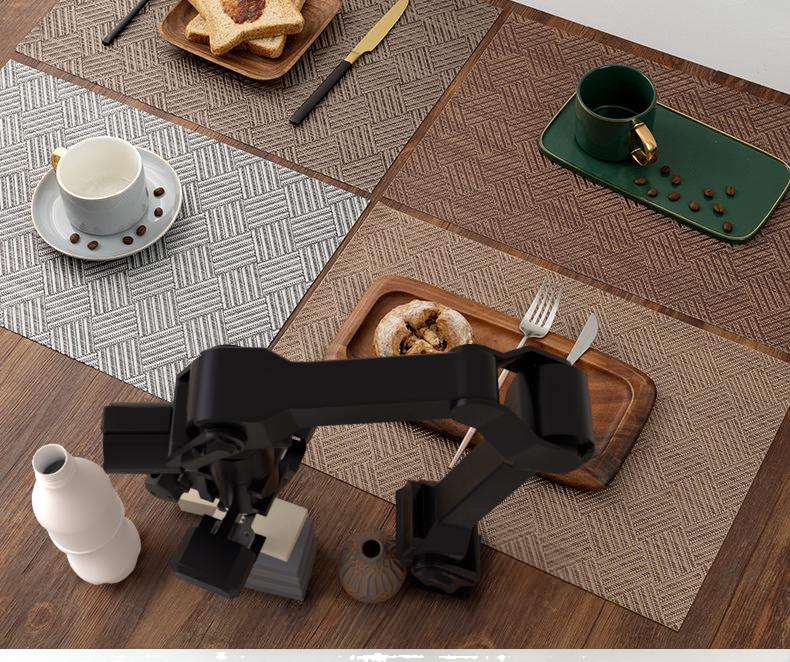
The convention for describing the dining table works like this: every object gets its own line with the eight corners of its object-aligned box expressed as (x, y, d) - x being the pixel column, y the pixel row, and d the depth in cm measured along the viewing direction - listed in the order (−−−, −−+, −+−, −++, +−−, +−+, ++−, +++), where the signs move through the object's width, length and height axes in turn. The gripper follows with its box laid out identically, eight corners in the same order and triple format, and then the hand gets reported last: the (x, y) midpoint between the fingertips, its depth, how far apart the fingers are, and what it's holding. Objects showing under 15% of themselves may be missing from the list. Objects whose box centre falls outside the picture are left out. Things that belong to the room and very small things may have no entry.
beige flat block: (308, 513, 107) (307, 508, 106) (287, 562, 105) (286, 558, 104) (231, 485, 109) (230, 480, 108) (208, 532, 106) (207, 527, 105)
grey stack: (317, 549, 118) (312, 518, 110) (303, 601, 115) (297, 572, 107) (239, 531, 119) (229, 499, 112) (223, 582, 116) (211, 552, 108)
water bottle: (132, 598, 115) (74, 507, 94) (65, 584, 116) (-7, 490, 95) (154, 531, 119) (104, 429, 98) (89, 518, 120) (25, 414, 99)
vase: (378, 625, 114) (377, 598, 106) (325, 583, 116) (320, 555, 109) (419, 571, 117) (421, 541, 109) (366, 531, 119) (365, 500, 112)
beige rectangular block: (256, 458, 124) (252, 444, 121) (235, 523, 119) (230, 510, 116) (203, 446, 124) (198, 432, 121) (180, 510, 120) (175, 497, 117)
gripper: (202, 329, 100) (224, 407, 113) (97, 520, 90) (134, 582, 103) (319, 369, 98) (327, 445, 110) (224, 570, 88) (246, 627, 101)
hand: (258, 520), depth 106 cm, fingers closed on beige flat block, 5 cm apart
